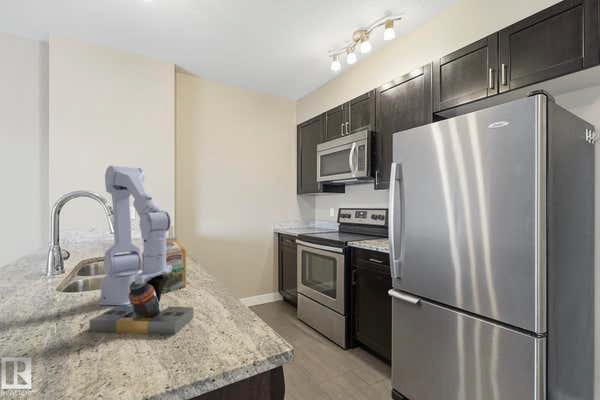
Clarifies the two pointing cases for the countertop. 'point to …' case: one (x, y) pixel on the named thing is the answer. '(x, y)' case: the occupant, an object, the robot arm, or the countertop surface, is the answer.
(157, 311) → the supplement bottle
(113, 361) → the countertop surface
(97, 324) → the grey flat block
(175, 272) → the food carton
